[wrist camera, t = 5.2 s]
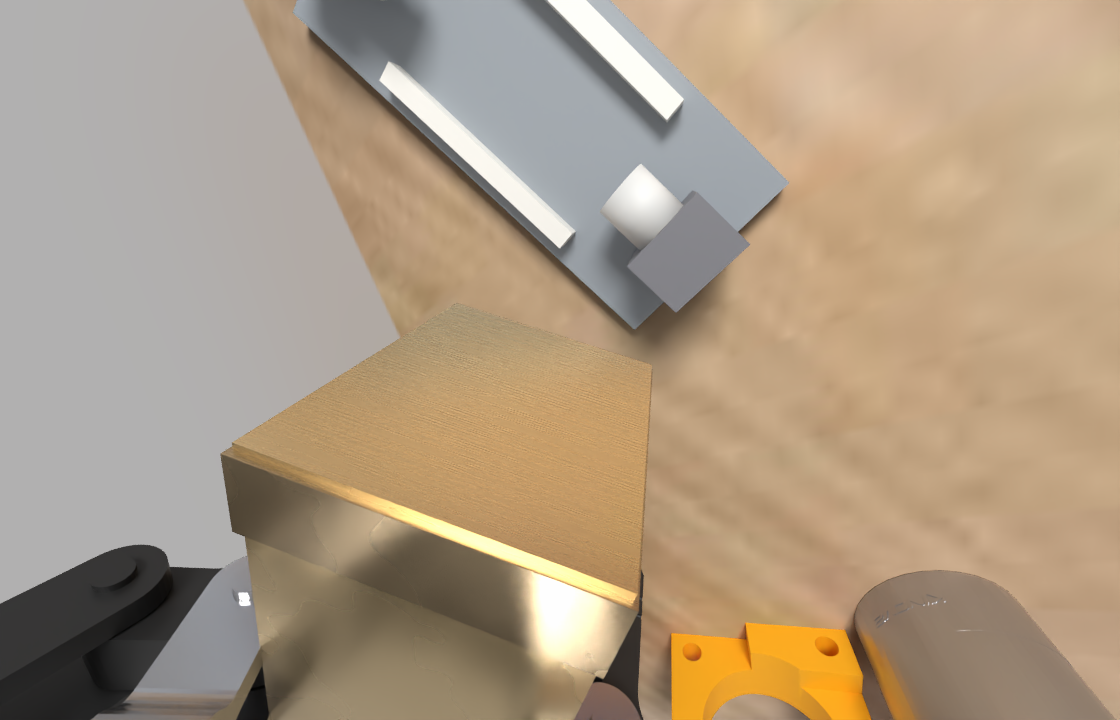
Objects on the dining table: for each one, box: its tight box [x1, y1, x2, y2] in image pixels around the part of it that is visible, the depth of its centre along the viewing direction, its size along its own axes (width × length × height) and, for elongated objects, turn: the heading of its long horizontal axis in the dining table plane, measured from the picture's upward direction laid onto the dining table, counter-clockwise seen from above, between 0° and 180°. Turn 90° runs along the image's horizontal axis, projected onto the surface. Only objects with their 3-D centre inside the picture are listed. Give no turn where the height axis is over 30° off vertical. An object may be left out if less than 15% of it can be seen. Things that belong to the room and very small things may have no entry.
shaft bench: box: [293, 0, 789, 330], centre depth 19 cm, size 24×10×5 cm, turn 50°
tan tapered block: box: [221, 303, 652, 720], centre depth 9 cm, size 10×5×6 cm, turn 166°
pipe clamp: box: [671, 623, 872, 720], centre depth 29 cm, size 12×4×6 cm, turn 102°
